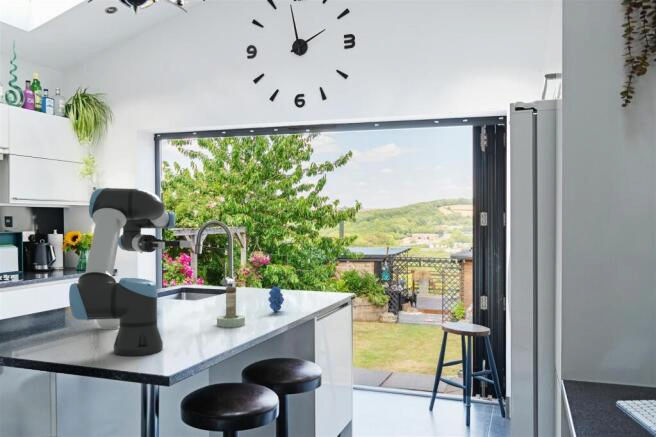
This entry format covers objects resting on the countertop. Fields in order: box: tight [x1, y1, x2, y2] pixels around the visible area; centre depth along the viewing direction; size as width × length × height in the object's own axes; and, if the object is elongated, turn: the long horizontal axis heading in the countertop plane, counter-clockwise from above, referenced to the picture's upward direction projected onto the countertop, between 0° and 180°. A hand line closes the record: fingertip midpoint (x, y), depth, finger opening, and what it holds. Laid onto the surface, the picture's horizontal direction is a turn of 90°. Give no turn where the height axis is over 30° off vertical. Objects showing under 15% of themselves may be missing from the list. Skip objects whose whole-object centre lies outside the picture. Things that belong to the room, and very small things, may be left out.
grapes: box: [268, 285, 285, 313], centre depth 251 cm, size 12×7×12 cm, turn 159°
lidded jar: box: [95, 319, 120, 330], centre depth 214 cm, size 11×11×9 cm
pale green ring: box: [216, 314, 246, 328], centre depth 222 cm, size 11×11×3 cm
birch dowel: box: [225, 286, 237, 318], centre depth 222 cm, size 4×4×15 cm
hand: (177, 245), depth 224 cm, fingers open, 13 cm apart
